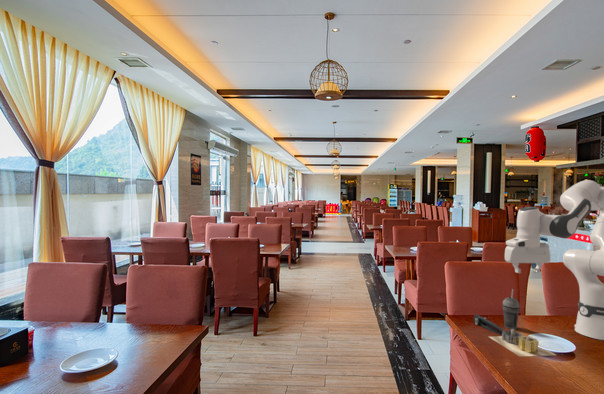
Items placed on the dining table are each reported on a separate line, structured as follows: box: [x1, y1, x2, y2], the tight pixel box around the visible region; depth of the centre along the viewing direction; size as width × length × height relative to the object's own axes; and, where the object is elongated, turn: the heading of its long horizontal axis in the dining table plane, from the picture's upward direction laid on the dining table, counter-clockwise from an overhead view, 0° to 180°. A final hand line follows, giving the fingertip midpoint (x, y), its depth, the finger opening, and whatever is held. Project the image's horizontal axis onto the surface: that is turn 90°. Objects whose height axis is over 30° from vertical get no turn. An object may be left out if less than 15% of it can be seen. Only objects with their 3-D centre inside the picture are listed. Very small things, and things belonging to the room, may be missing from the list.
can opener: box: [472, 314, 504, 336], centre depth 154 cm, size 18×7×6 cm, turn 13°
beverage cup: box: [501, 288, 521, 331], centre depth 155 cm, size 7×7×20 cm
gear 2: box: [518, 335, 540, 354], centre depth 132 cm, size 7×7×4 cm
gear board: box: [488, 329, 557, 357], centre depth 136 cm, size 16×18×6 cm
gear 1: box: [501, 329, 525, 345], centre depth 141 cm, size 8×8×3 cm
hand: (527, 272), depth 149 cm, fingers open, 8 cm apart
